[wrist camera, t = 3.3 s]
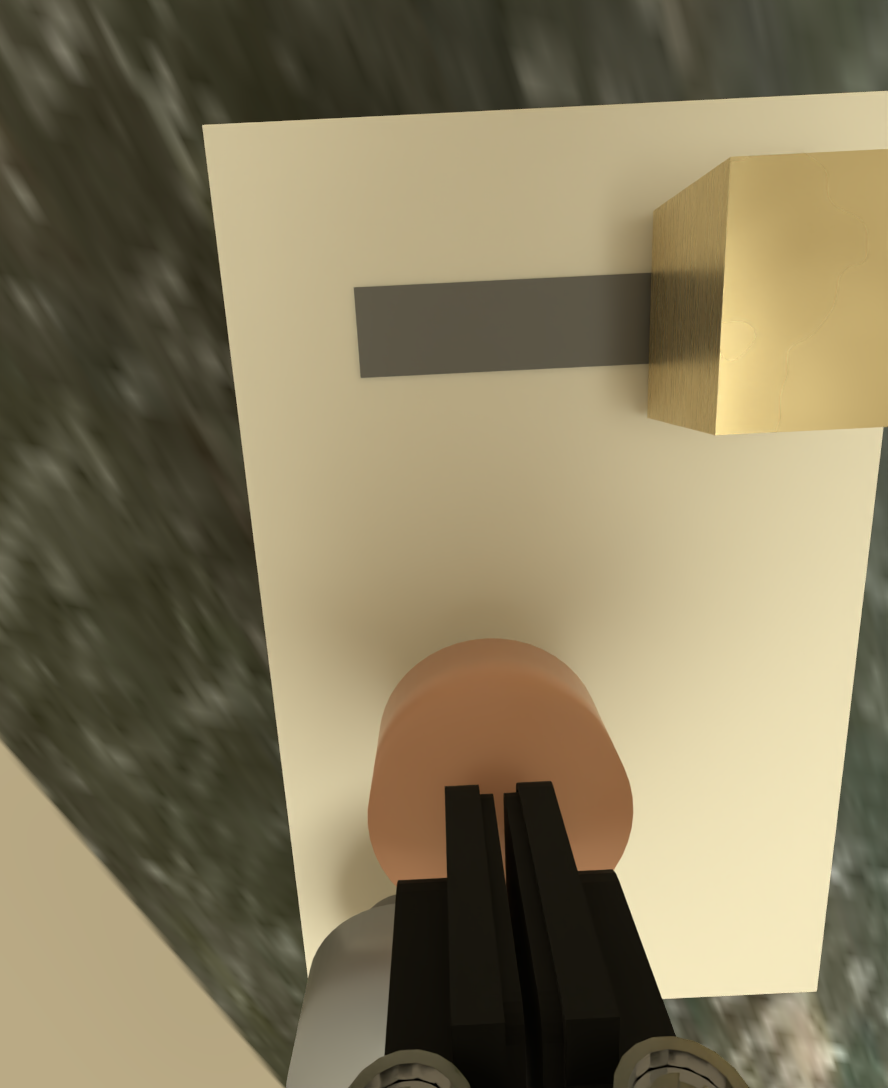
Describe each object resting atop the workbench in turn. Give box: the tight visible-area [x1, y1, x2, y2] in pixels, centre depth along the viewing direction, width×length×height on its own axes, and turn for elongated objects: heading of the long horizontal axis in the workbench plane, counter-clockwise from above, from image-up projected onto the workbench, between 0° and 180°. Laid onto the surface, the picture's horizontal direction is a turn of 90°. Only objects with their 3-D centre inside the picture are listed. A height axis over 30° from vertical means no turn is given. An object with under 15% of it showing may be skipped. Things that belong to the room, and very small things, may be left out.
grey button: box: [286, 895, 396, 1088], centre depth 15 cm, size 4×4×4 cm
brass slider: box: [647, 149, 888, 435], centre depth 12 cm, size 4×4×4 cm
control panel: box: [202, 91, 888, 999], centre depth 17 cm, size 14×22×3 cm, turn 3°
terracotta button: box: [368, 638, 633, 887], centre depth 13 cm, size 4×4×4 cm
